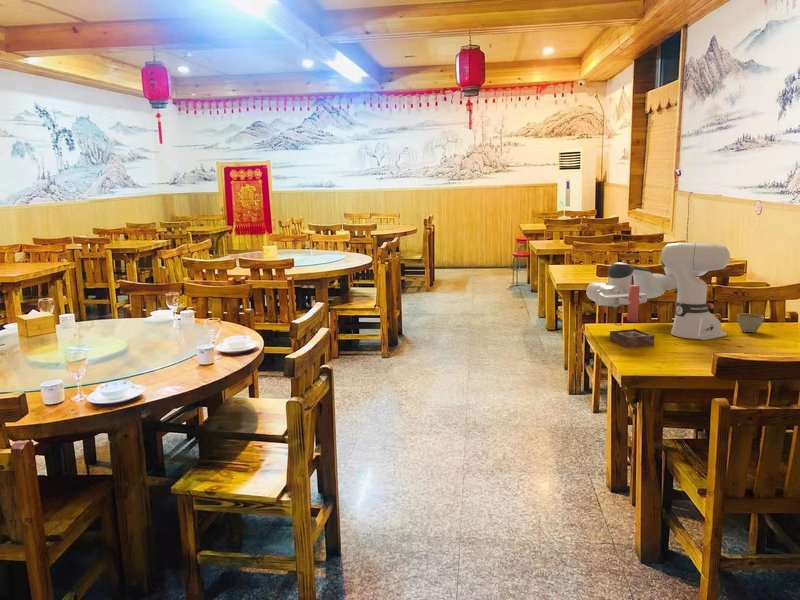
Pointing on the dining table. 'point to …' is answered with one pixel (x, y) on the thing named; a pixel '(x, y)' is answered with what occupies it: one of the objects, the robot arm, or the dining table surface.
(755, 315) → the flower pot
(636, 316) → the peg
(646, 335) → the box
